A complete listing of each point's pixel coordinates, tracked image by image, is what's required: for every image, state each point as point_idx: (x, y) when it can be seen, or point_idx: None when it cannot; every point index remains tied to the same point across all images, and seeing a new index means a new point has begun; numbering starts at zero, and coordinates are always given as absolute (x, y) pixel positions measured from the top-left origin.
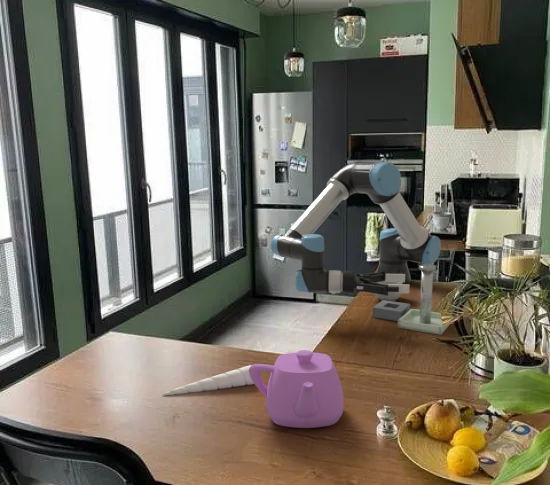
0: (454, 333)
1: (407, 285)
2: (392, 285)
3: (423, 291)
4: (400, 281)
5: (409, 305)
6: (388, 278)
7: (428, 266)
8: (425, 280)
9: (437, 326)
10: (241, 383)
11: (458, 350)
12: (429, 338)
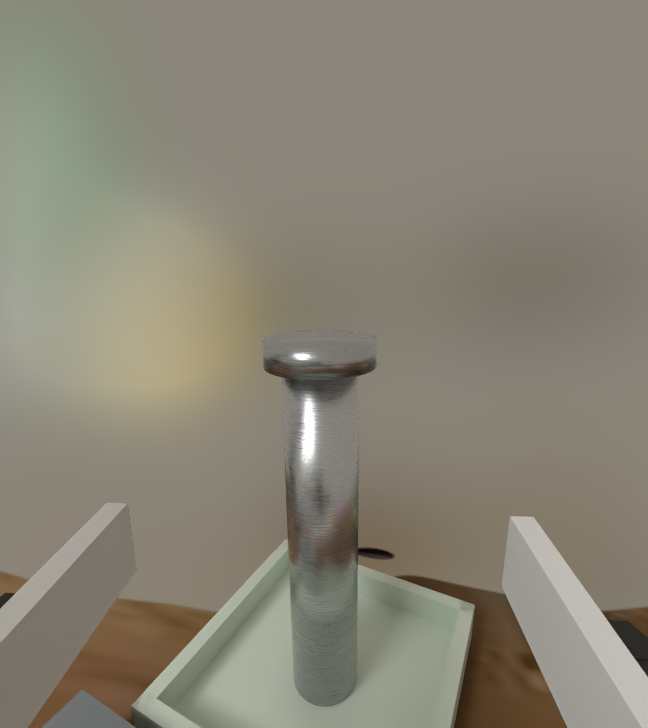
0: (428, 583)
1: (543, 532)
2: (640, 680)
3: (349, 514)
4: (113, 596)
5: (93, 701)
6: (7, 701)
7: (337, 338)
8: (355, 436)
9: (465, 617)
10: None
11: (639, 608)
12: (553, 704)
